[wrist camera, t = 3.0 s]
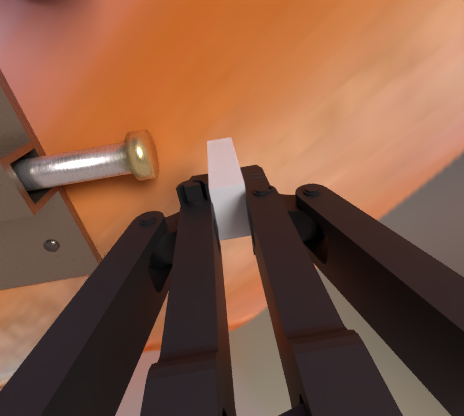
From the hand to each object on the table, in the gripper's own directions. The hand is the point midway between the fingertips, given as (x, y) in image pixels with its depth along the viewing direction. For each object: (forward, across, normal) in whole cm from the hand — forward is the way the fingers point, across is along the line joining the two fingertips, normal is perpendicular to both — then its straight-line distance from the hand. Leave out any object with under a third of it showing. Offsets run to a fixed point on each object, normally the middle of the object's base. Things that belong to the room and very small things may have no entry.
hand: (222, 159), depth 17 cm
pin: (+4, -14, 0) cm, 15 cm away
